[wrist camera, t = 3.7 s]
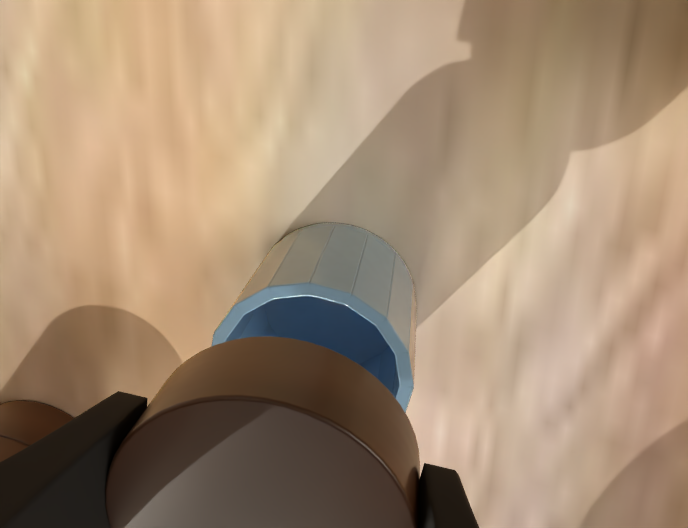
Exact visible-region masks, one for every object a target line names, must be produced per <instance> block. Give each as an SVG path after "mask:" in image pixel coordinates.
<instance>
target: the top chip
mask: <svg viewBox="0 0 688 528" xmlns="http://www.w3.org/2000/svg"><path fill="white" fill-rule="evenodd" d="M419 488H420V459H419V449H418V444H417V440H416V436H415V433H414V431H413V428H412V426H411V423H410V421H409V419H408V417H407V415H406V414H405V412H404V410H403V408H402V407H401V405H400V404H399V402H398V401H397V400H396V399H395V397H394V396H393V395H392V393H391V392H390V391H389V390H388V389H387V388H386V387H385V386H384V385H383V384H382V383H381V382H380V381H379V380H378V379H377V378H376V377H375V376H374V375H372V374H371V373H370V372H368V371H367V370H366V369H365V368H363V367H362V366H361V365H359V364H357V363H356V362H354V361H352V360H351V359H349V358H347V357H346V356H344V355H342V354H339V353H337V352H335V351H333V350H331V349H328V348H326V347H323V346H320V345H317V344H314V343H311V342H307V341H302V340H297V339H292V338H285V337H273V336H262V337H247V338H241V339H234V340H231V341H227V342H224V343H220V344H217V345H214V346H212V347H210V348H208V349H205V350H203V351H201V352H199V353H197V354H196V355H194V356H193V357H191V358H190V359H188V360H186V361H185V362H184V363H183V364H182V365H181V366H180V367H178V368H177V369H176V370H175V371H174V372H173V373H172V375H171V376H170V377H169V378H168V379H167V381H166V382H165V383H164V385H163V386H162V387H161V389H160V390H159V392H158V393H157V394H156V396H155V397H154V398H153V400H152V401H151V403H150V404H149V405H148V407H147V408H146V410H145V411H144V412H143V414H142V415H141V416H140V418H139V419H138V421H137V422H136V423H135V425H134V426H133V428H132V429H131V430H130V432H129V433H128V434H127V436H126V437H125V439H124V440H123V441H122V443H121V444H120V446H119V448H118V450H117V451H116V453H115V455H114V457H113V459H112V462H111V465H110V468H109V470H108V475H107V481H106V488H105V505H106V511H107V517H108V521H109V524H110V527H111V528H419Z"/></svg>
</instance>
